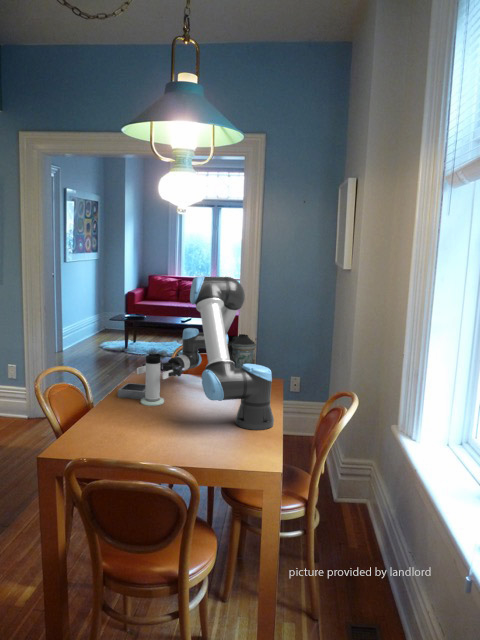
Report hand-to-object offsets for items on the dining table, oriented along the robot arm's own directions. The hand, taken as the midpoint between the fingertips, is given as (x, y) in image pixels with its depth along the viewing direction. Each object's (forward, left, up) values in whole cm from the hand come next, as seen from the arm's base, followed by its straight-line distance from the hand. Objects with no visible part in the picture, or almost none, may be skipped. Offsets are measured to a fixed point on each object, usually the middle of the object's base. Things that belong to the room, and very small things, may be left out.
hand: (150, 373), depth 216 cm
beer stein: (+45, -33, -14) cm, 57 cm away
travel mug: (+2, -1, -12) cm, 12 cm away
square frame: (+11, +10, -13) cm, 20 cm away
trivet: (+2, -1, -13) cm, 13 cm away
